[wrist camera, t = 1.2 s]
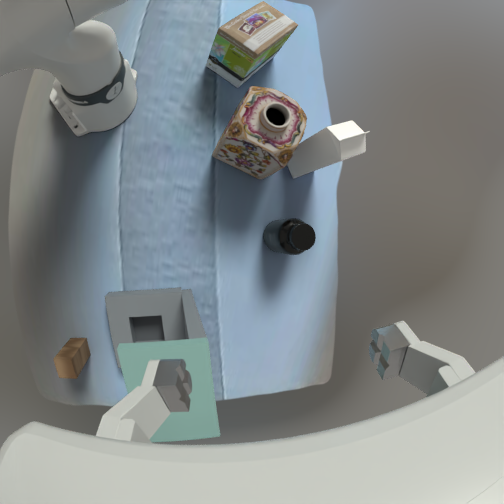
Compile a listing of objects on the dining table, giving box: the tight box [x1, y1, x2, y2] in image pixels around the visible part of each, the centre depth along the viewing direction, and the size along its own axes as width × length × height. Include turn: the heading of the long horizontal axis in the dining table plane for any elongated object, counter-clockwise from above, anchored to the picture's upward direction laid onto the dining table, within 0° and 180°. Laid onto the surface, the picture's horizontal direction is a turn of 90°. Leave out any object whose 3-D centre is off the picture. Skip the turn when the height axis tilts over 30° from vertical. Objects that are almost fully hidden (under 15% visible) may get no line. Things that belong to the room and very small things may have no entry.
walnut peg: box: [54, 338, 90, 379], centre depth 43 cm, size 4×4×11 cm
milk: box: [287, 121, 369, 179], centre depth 48 cm, size 6×6×22 cm
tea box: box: [206, 1, 298, 88], centre depth 46 cm, size 15×10×15 cm, turn 143°
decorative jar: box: [212, 86, 307, 180], centre depth 47 cm, size 12×12×18 cm
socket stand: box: [105, 287, 220, 442], centre depth 39 cm, size 17×15×28 cm
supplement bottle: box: [264, 218, 316, 255], centre depth 53 cm, size 7×7×12 cm
